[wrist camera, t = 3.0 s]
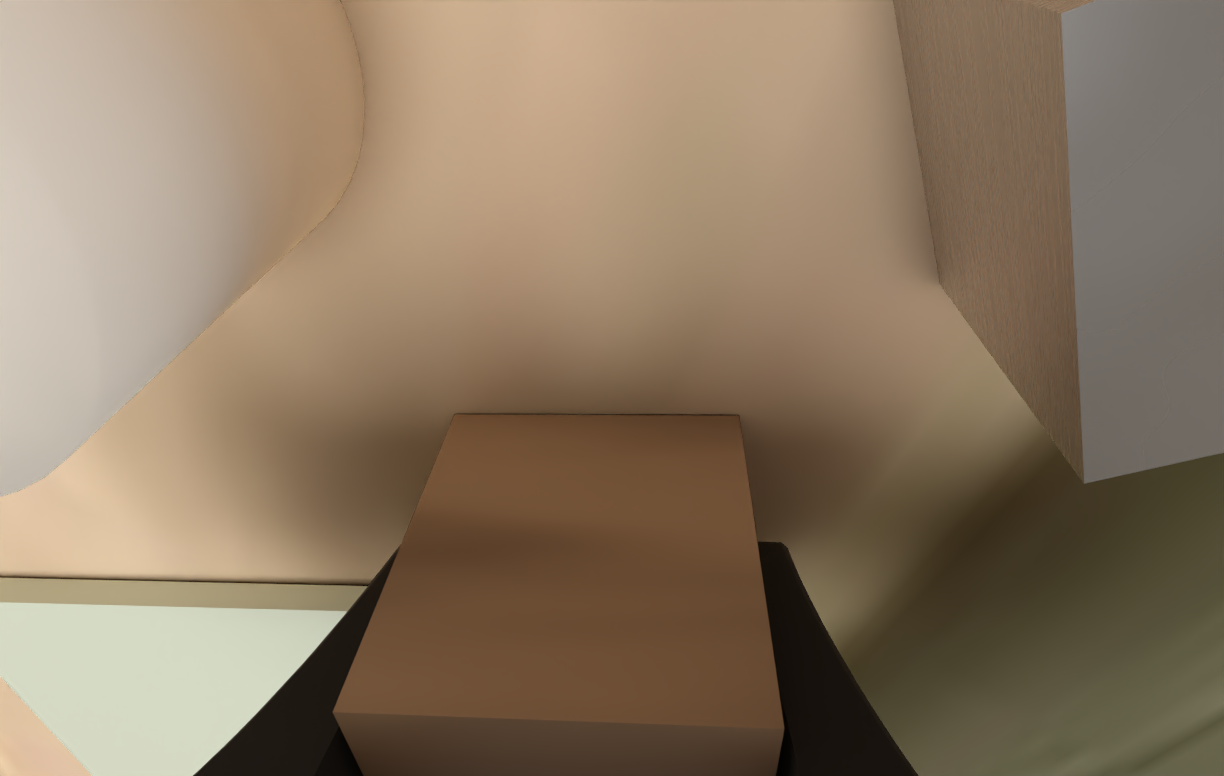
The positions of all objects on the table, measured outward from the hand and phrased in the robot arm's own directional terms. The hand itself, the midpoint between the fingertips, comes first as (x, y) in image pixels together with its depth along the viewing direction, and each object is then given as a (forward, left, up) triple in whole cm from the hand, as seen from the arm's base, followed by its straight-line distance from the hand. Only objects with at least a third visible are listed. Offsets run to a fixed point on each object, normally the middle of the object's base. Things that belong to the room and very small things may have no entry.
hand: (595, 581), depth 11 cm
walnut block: (0, 0, -1) cm, 1 cm away
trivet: (-7, +8, -1) cm, 11 cm away
